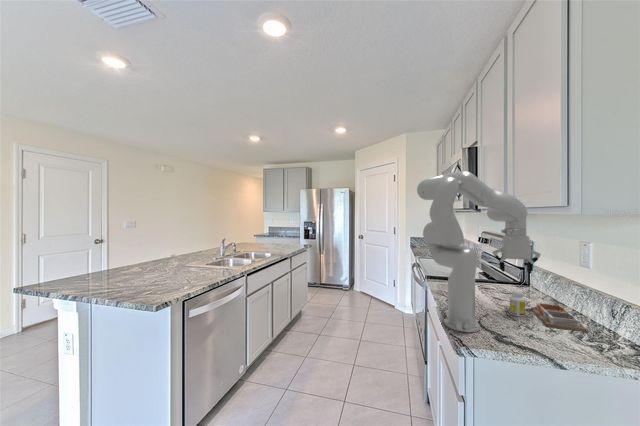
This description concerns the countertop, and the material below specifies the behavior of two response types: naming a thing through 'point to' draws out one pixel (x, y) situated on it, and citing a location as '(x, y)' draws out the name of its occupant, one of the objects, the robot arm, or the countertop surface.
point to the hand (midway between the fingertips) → (515, 271)
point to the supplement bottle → (517, 304)
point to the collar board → (557, 317)
